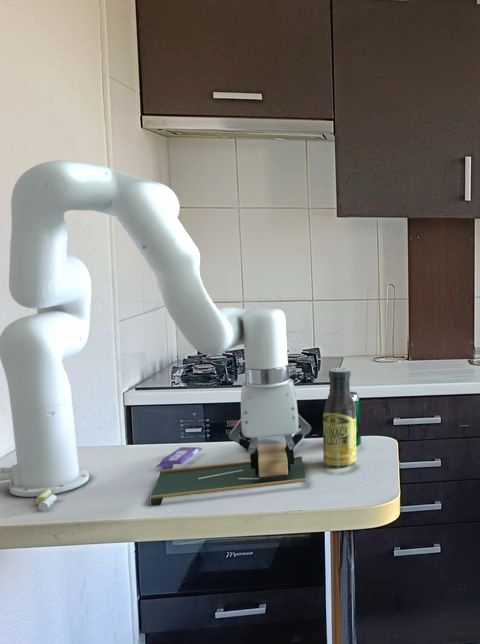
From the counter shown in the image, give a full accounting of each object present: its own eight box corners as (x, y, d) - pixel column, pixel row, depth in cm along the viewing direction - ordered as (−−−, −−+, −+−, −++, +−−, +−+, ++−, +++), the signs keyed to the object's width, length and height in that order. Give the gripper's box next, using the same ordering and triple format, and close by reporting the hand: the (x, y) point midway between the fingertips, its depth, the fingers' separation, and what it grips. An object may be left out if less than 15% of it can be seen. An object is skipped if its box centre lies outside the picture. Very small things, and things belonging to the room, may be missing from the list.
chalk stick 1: (36, 495, 129) (46, 497, 129) (43, 487, 132) (52, 489, 133) (34, 504, 129) (43, 505, 129) (41, 495, 133) (50, 497, 133)
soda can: (335, 453, 156) (332, 397, 154) (338, 445, 161) (336, 391, 159) (359, 452, 156) (357, 396, 154) (362, 445, 161) (360, 390, 159)
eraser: (259, 482, 135) (258, 461, 135) (258, 464, 145) (257, 444, 144) (288, 479, 137) (287, 458, 136) (285, 462, 147) (284, 442, 146)
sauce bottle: (318, 473, 144) (313, 371, 141) (332, 462, 150) (328, 365, 147) (349, 475, 142) (345, 373, 139) (363, 464, 148) (359, 366, 145)
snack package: (179, 462, 145) (154, 462, 145) (180, 471, 145) (155, 471, 145) (205, 443, 156) (182, 443, 156) (206, 452, 156) (183, 452, 157)
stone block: (245, 466, 153) (292, 457, 152) (239, 444, 152) (286, 434, 152) (264, 450, 165) (308, 441, 164) (259, 429, 164) (303, 420, 163)
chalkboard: (151, 505, 128) (150, 496, 128) (160, 478, 142) (159, 470, 141) (307, 487, 136) (306, 479, 136) (302, 463, 149) (301, 455, 149)
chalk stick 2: (40, 501, 126) (49, 504, 127) (49, 492, 130) (58, 495, 130) (36, 509, 126) (46, 512, 127) (45, 500, 130) (54, 503, 130)
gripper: (313, 368, 144) (317, 458, 147) (219, 374, 139) (225, 468, 142) (316, 376, 137) (321, 471, 140) (217, 383, 132) (224, 482, 135)
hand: (272, 468), depth 141 cm, fingers closed on eraser, 5 cm apart
